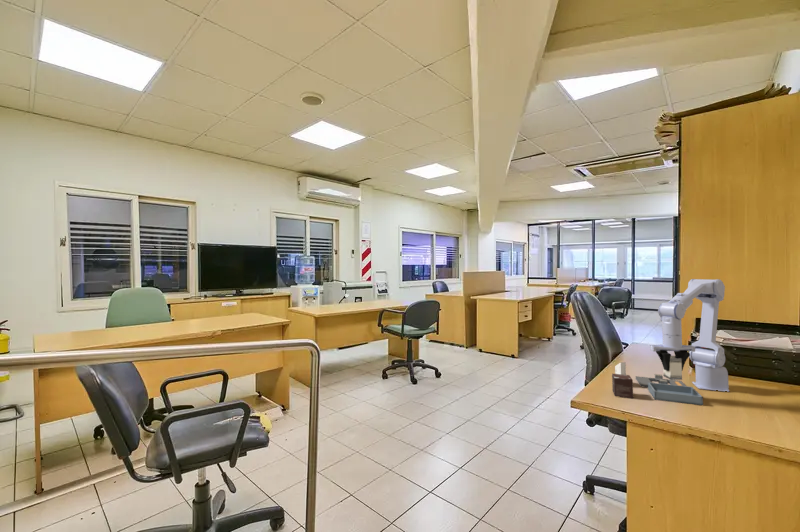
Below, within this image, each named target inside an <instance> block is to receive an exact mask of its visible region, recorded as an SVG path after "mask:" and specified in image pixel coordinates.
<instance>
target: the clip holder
mask: <svg viewBox="0 0 800 532" xmlns="http://www.w3.org/2000/svg"><path fill="white" fill-rule="evenodd" d="M635 380H636V382H637V383H638V385H639V386H640V387H642V388H648V382H650V383H653V382H658V383H659V384H669V385H678V386H687V385H686V384H685V383H684V382H683V381H682V380H670V379H668V378H666V379H665V378H664V376H663V374H658V373H655V374H654V377H646V376H639V375H638V376H635Z"/></svg>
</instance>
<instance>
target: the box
mask: <svg viewBox="0 0 800 532" xmlns="http://www.w3.org/2000/svg"><path fill="white" fill-rule="evenodd" d="M611 381H612V383H611V384H612V385H611V386H612V393H613V395H614V397H615V396H620V397H619V398H626V397H627V399H634V385H633V383H634V382H633V379H632V377H631V376H630V374H626V375H623V374H615V373H612V375H611Z"/></svg>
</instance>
